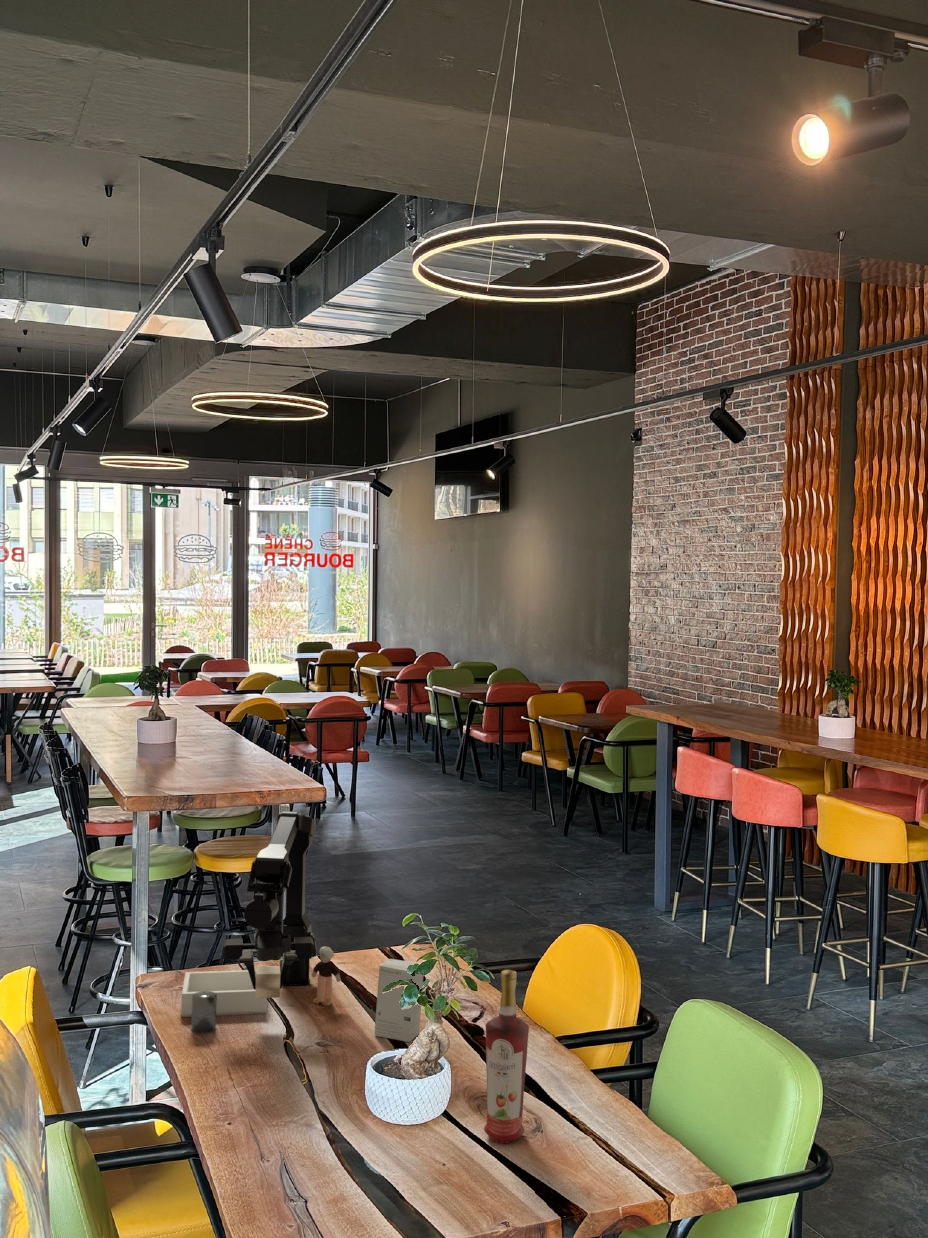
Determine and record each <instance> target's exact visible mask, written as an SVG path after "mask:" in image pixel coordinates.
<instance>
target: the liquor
mask: <svg viewBox="0 0 928 1238" xmlns="http://www.w3.org/2000/svg"><path fill="white" fill-rule="evenodd" d="M500 985H501V995H500V1002H499V1003H500V1004H499V1010H498V1016H494V1017H493V1018H491V1019H490V1020H489V1021H487V1022H486V1023H485V1062H486V1063H485V1064H486V1065H485V1066H486V1067H485V1068H486V1123H485V1125H484V1126H483V1130H484V1132H485V1133H486V1134H487V1136H488V1137H489V1138H490V1139H491V1140H492V1139H493V1140H494V1141H493V1140H492V1141H493V1142H495V1141H497V1142H496V1143H498V1142H503V1143H502V1144H510V1143H509V1142H511V1143H513V1141H514V1142H516V1140H518V1139H519V1138H520V1137H522V1136H523V1134H524V1133H525V1128H524V1126H523V1110H524V1096H525V1095H524V1094H525V1079H526V1069H527V1068H526V1067H527V1057H528V1045H529V1044H528V1043H529V1031H530V1028H529V1027H530V1026H529V1025H528V1023H527V1022H525V1021H524V1020H523V1019H522V1018H520V1017H518V1016H517V1008H516V1007H517V1004H516V988H517V987H516V986H517V971H515V970H512V969H503V970H502V971H500ZM506 1142H508V1143H506Z"/></svg>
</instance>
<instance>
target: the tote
mask: <svg viewBox="0 0 928 1238" xmlns="http://www.w3.org/2000/svg"><path fill="white" fill-rule="evenodd" d="M255 976H256V969H255ZM182 985H183V986H182V990H181V1009H180V1010H181V1011H180V1014H181V1015H180V1017H181V1018H190V1017H191V1018H192V995H193V994H195V993H197V992H202V991H211V992H215V993H216V994H217V1005H216V1017H217V1016H237V1015H238V1016H239V1015H243V1016H244V1015H262V1014H263V1015H265V1014H267V1003H268V1001H267V999H268V998H255V990H254V988H253V985H252V982H251V978H250V975H249V972H248V970H247V969H243V970H242V969H241V970H215V971H214V970H211V971H185V974H184V979H183V984H182Z"/></svg>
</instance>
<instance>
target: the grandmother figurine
mask: <svg viewBox="0 0 928 1238" xmlns="http://www.w3.org/2000/svg"><path fill="white" fill-rule="evenodd" d="M318 953H319V955H320V956H319V959H320V961H319V962H318V963H316V964H315V966H314V967H313V971H312V972H311V978H316V977H317V974H318V977H317V987H316V997H315V998H314V999H313V1000H312V1003H314V1004H321V1005H322V1006H331V1005H332V1004H333V1000H332V996H333V977H335V980H336V982H337V983H340V982H341V981H342V979H341V975H340V971H339V970H338V968H337V967H336V965H334V964H332V962H330V961H331V960H332V958H334V957H335V953H334V951H333V950H332V948H330V947H329V946H322V947H320V948H319V951H318Z"/></svg>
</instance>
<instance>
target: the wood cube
mask: <svg viewBox="0 0 928 1238" xmlns="http://www.w3.org/2000/svg"><path fill="white" fill-rule="evenodd" d="M255 970H256V990H255V998H267V999H271V998H272V999H273V998H274V999H275V998H280V997H281V996H280V995H281V989H280V965H267V966H260V965H259V966H255Z"/></svg>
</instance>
